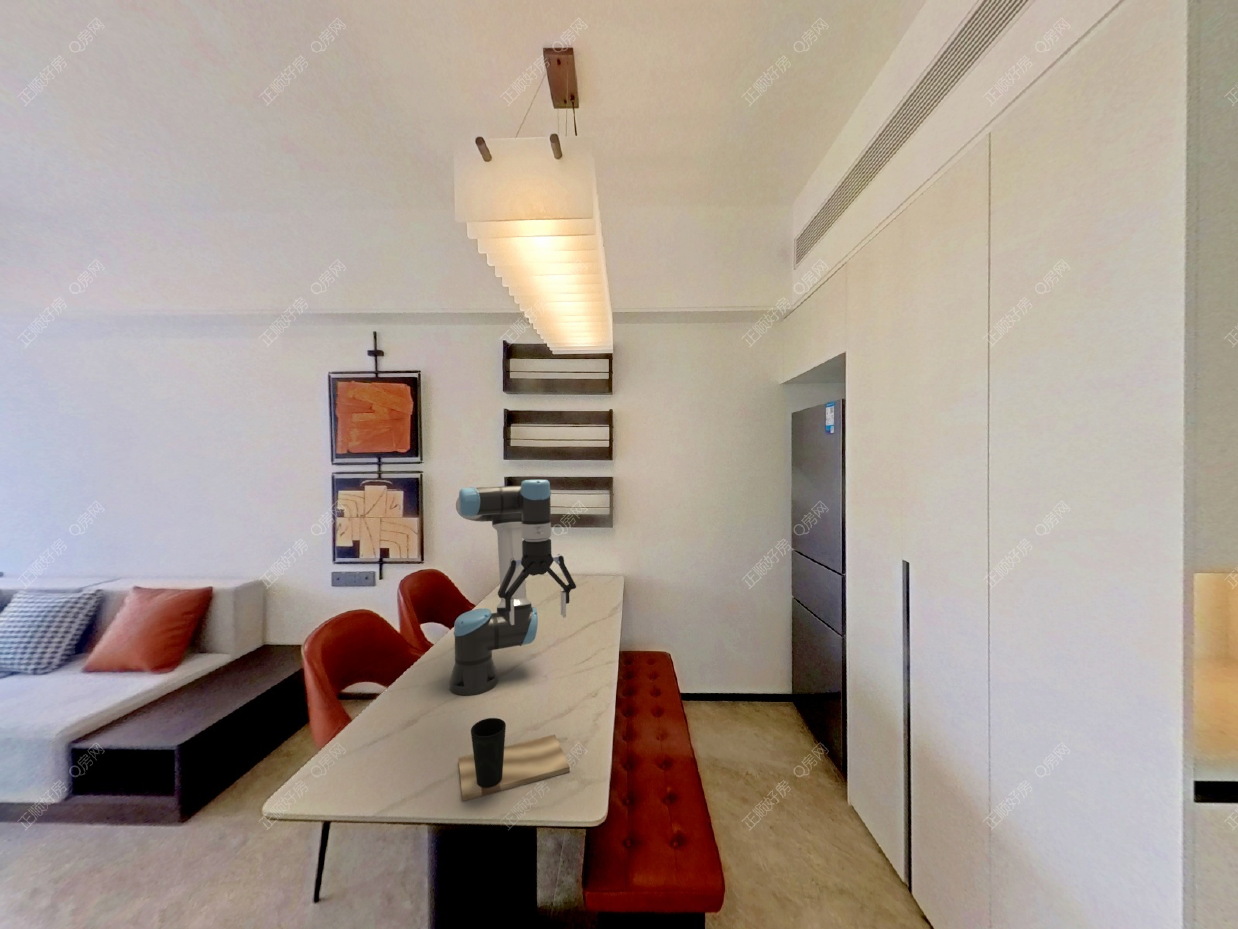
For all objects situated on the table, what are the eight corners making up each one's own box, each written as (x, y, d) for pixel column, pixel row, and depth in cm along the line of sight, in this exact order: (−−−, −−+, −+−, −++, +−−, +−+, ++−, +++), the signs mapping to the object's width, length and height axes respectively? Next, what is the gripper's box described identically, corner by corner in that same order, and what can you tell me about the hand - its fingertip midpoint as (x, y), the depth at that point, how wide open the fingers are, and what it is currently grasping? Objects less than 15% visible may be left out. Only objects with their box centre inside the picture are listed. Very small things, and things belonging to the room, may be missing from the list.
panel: (458, 762, 115) (458, 757, 115) (555, 739, 124) (554, 734, 124) (462, 801, 102) (462, 795, 102) (569, 771, 111) (569, 766, 111)
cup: (510, 767, 111) (508, 717, 111) (503, 790, 103) (501, 736, 103) (477, 768, 111) (475, 718, 111) (467, 792, 103) (466, 737, 103)
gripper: (489, 545, 115) (490, 631, 116) (586, 537, 124) (588, 617, 125) (485, 540, 122) (487, 621, 123) (578, 533, 131) (579, 608, 132)
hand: (538, 619), depth 124 cm, fingers open, 13 cm apart
